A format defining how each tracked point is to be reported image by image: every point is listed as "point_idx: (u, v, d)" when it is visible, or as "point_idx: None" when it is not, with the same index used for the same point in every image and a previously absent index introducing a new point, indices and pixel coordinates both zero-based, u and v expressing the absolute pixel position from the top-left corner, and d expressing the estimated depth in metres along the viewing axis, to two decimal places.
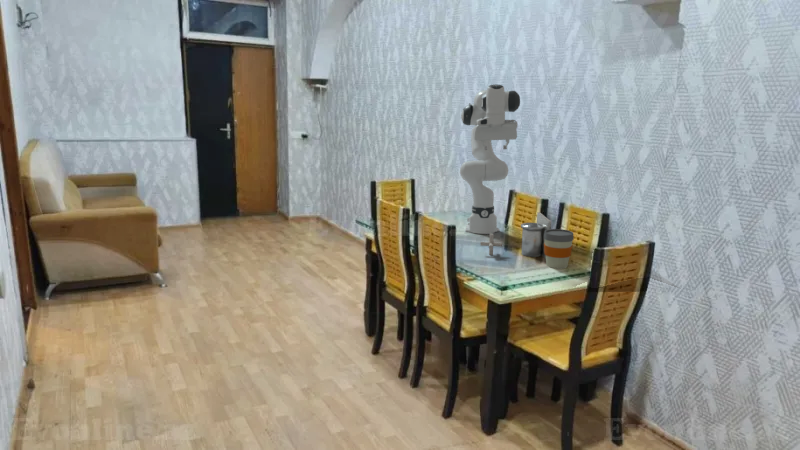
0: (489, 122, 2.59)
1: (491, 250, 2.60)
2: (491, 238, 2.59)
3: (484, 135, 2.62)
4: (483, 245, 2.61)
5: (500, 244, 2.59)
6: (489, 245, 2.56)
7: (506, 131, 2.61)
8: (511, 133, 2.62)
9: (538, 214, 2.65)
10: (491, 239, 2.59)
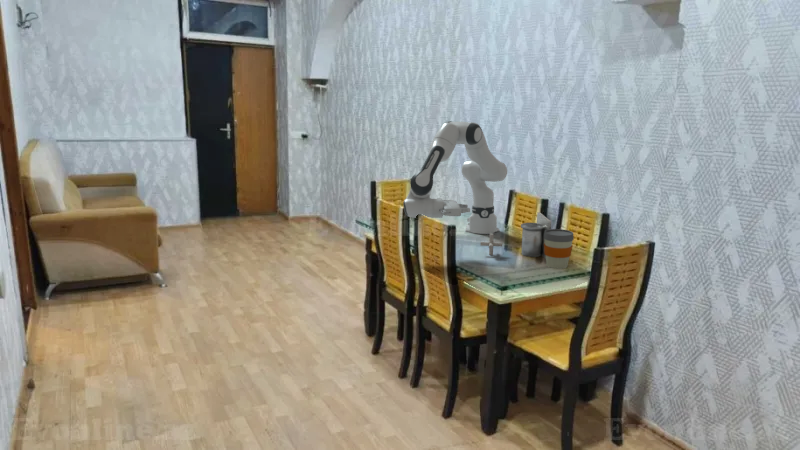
0: None
1: (491, 250, 2.60)
2: (491, 238, 2.59)
3: None
4: (483, 245, 2.61)
5: (500, 244, 2.59)
6: (489, 245, 2.56)
7: None
8: None
9: (538, 214, 2.65)
10: (491, 239, 2.59)
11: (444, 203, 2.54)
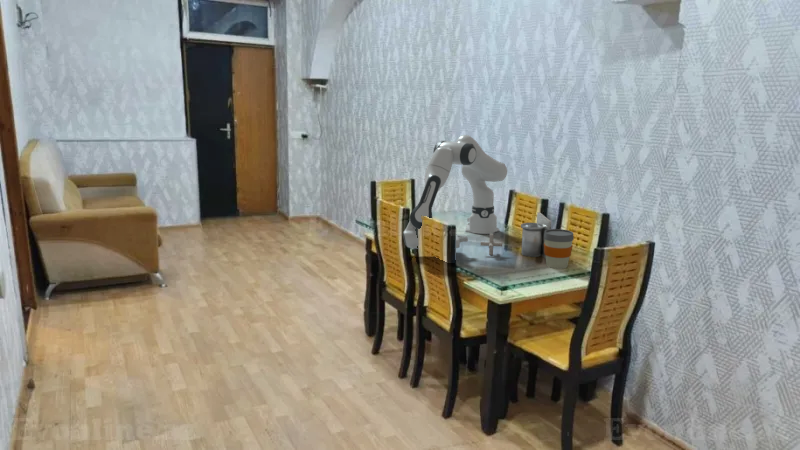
0: None
1: (491, 250, 2.60)
2: (491, 238, 2.59)
3: None
4: (483, 245, 2.61)
5: (500, 244, 2.59)
6: (489, 245, 2.56)
7: None
8: None
9: (538, 214, 2.65)
10: (491, 239, 2.59)
11: None
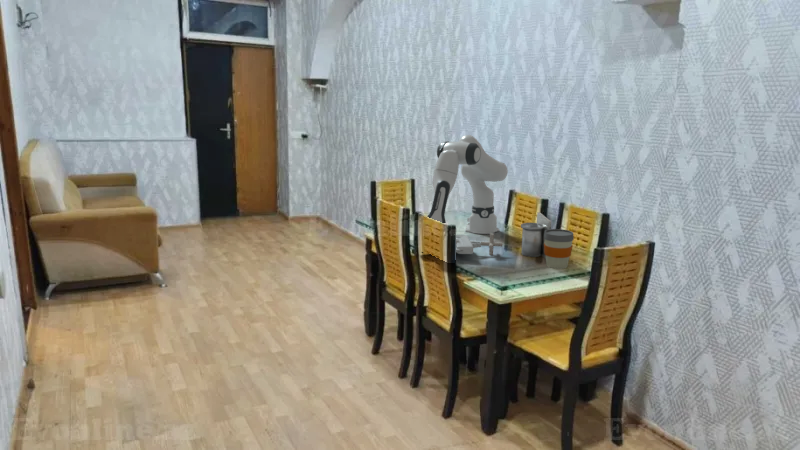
0: None
1: (491, 250, 2.60)
2: (491, 238, 2.59)
3: None
4: (483, 245, 2.61)
5: (500, 244, 2.59)
6: (489, 245, 2.56)
7: None
8: None
9: (538, 214, 2.65)
10: (491, 239, 2.59)
11: (456, 240, 2.58)
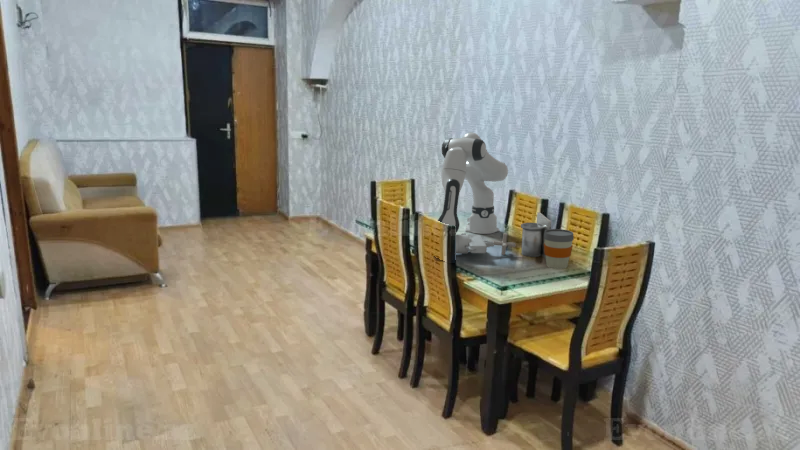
0: None
1: (504, 250, 2.60)
2: (505, 238, 2.59)
3: None
4: (496, 244, 2.60)
5: (513, 244, 2.59)
6: (503, 245, 2.56)
7: None
8: None
9: (538, 214, 2.65)
10: (505, 239, 2.59)
11: (469, 239, 2.58)
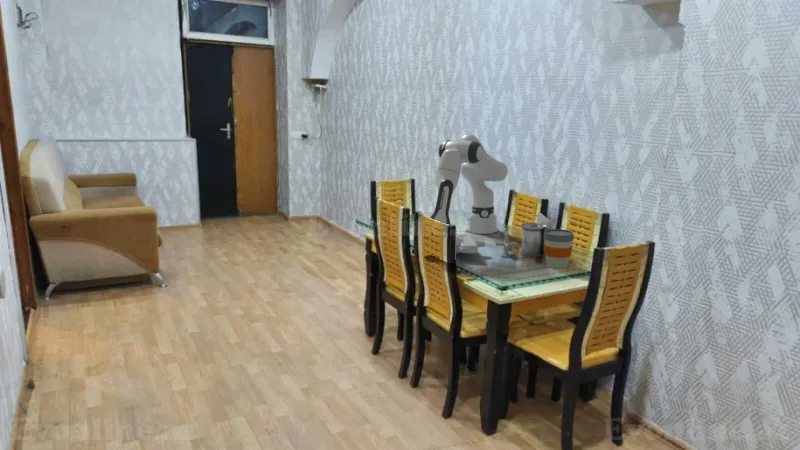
0: None
1: (506, 250, 2.60)
2: (506, 238, 2.59)
3: None
4: (498, 245, 2.60)
5: (515, 244, 2.59)
6: (505, 245, 2.56)
7: None
8: None
9: (538, 214, 2.65)
10: (506, 239, 2.59)
11: (460, 239, 2.58)
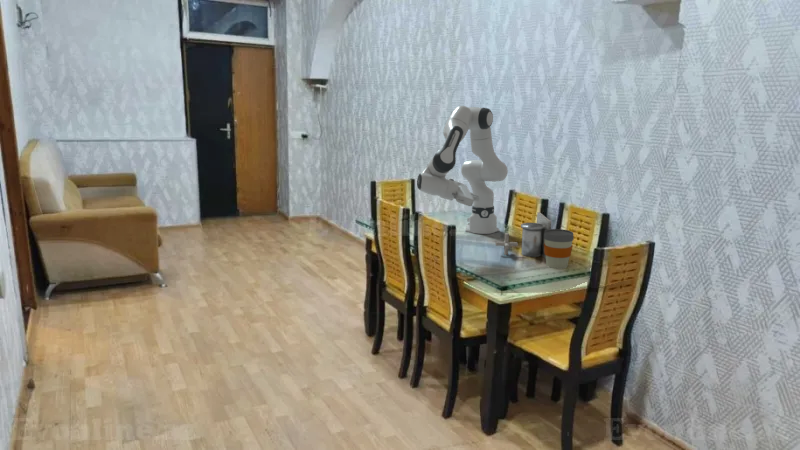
0: None
1: (506, 250, 2.60)
2: (506, 238, 2.59)
3: None
4: (498, 245, 2.60)
5: (515, 244, 2.59)
6: (505, 245, 2.56)
7: None
8: None
9: (538, 214, 2.65)
10: (506, 239, 2.59)
11: (458, 188, 2.54)
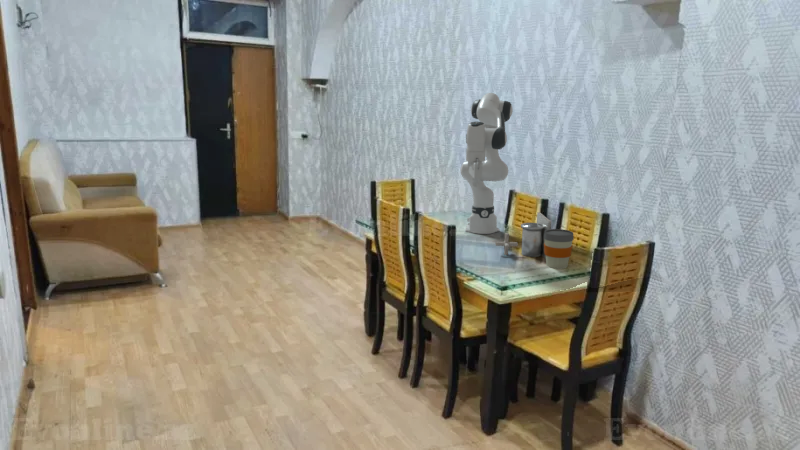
0: None
1: (506, 250, 2.60)
2: (506, 238, 2.59)
3: (470, 170, 2.67)
4: (498, 245, 2.60)
5: (515, 244, 2.59)
6: (505, 245, 2.56)
7: (473, 170, 2.56)
8: (473, 172, 2.54)
9: (538, 214, 2.65)
10: (506, 239, 2.59)
11: (481, 162, 2.59)
